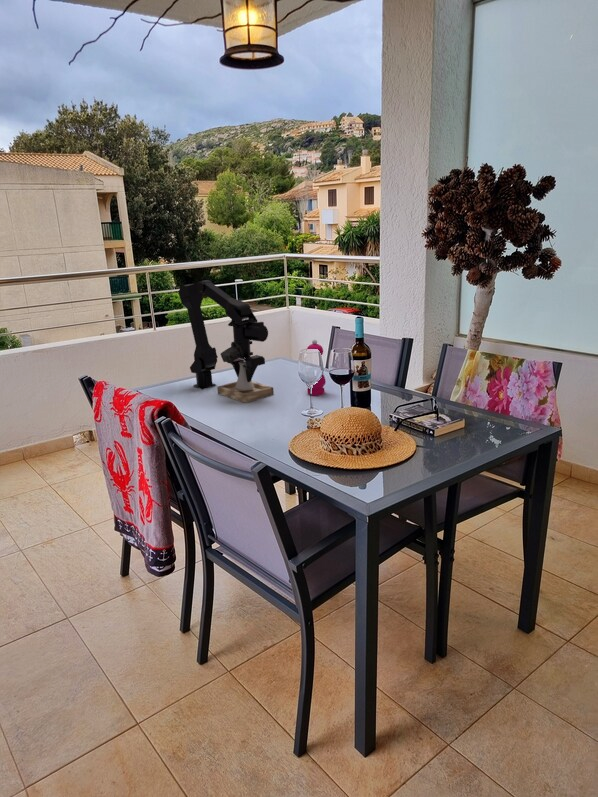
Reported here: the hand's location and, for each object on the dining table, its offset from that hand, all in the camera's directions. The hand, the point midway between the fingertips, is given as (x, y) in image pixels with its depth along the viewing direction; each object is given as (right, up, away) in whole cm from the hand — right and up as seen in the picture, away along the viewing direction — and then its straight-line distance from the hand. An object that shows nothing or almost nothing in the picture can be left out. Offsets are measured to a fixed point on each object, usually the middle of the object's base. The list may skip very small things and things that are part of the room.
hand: (244, 380), depth 205 cm
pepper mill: (+26, -5, 0) cm, 27 cm away
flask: (0, -3, +1) cm, 3 cm away
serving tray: (0, -5, +2) cm, 5 cm away
